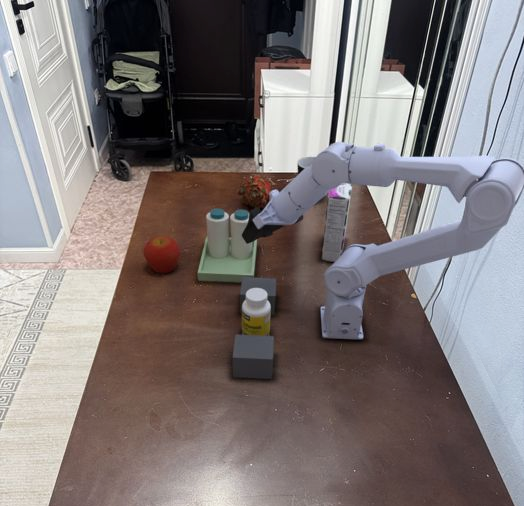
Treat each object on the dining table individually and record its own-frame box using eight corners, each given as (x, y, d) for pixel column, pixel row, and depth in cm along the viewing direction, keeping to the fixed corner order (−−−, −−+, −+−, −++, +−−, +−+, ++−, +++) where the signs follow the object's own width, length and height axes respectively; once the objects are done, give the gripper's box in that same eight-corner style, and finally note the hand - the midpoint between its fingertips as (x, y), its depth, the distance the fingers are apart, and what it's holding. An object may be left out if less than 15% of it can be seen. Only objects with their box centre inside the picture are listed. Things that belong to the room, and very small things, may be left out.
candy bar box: (324, 237, 124) (332, 174, 113) (344, 239, 123) (354, 176, 112) (319, 261, 116) (327, 195, 105) (340, 264, 115) (350, 198, 104)
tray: (253, 284, 109) (253, 275, 107) (198, 282, 109) (197, 272, 107) (256, 247, 120) (256, 238, 118) (206, 245, 120) (206, 236, 118)
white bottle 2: (251, 259, 115) (252, 218, 108) (230, 258, 115) (229, 217, 108) (252, 248, 119) (253, 208, 111) (232, 247, 119) (231, 207, 112)
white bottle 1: (228, 258, 115) (227, 217, 108) (207, 257, 115) (204, 216, 108) (230, 247, 119) (229, 207, 112) (209, 246, 119) (207, 206, 112)
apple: (140, 273, 111) (134, 242, 105) (159, 256, 116) (155, 226, 111) (169, 282, 109) (165, 251, 103) (187, 264, 114) (185, 234, 109)
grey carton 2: (272, 379, 88) (273, 359, 85) (232, 377, 88) (232, 357, 85) (272, 356, 92) (273, 336, 89) (235, 354, 92) (235, 334, 89)
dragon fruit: (259, 221, 132) (247, 207, 142) (284, 200, 131) (270, 187, 140) (240, 198, 127) (229, 185, 137) (265, 175, 126) (252, 164, 135)
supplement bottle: (237, 337, 96) (236, 297, 89) (250, 321, 99) (250, 281, 93) (261, 346, 94) (262, 306, 87) (274, 330, 98) (276, 290, 91)
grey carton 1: (274, 315, 101) (275, 295, 98) (240, 313, 101) (240, 294, 98) (275, 297, 105) (276, 278, 102) (242, 296, 106) (242, 276, 102)
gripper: (310, 167, 92) (268, 206, 103) (262, 185, 83) (222, 226, 93) (330, 199, 93) (287, 235, 103) (285, 221, 83) (242, 258, 93)
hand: (257, 233), depth 98 cm, fingers open, 7 cm apart
